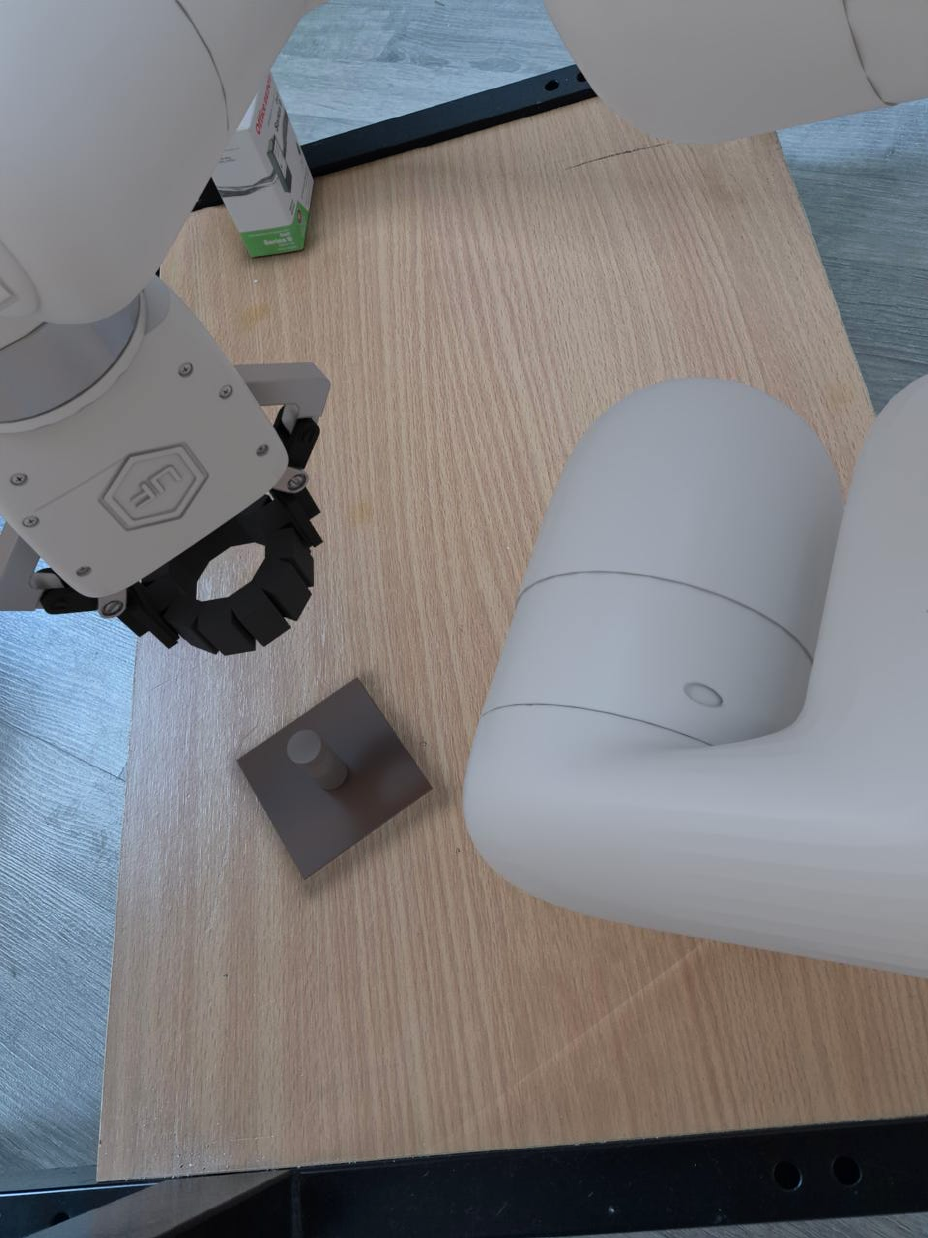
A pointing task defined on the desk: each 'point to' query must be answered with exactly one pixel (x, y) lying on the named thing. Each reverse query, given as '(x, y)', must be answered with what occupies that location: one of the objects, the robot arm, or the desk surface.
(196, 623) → the black gear
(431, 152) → the desk surface
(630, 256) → the desk surface
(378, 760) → the peg stand
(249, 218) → the ink box
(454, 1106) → the desk surface
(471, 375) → the desk surface
